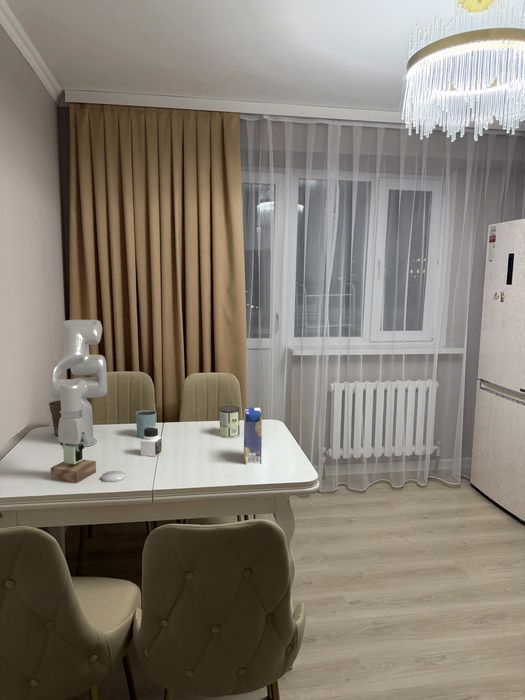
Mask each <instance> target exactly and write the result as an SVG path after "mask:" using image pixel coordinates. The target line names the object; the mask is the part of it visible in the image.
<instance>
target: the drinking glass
mask: <svg viewBox="0 0 525 700" xmlns="http://www.w3.org/2000/svg"><path fill="white" fill-rule="evenodd" d="M135 421H136V422H135V423H136V435H137V438H139V439H143V438H145V437H144V429H145V428H147V427H156V421H157V411H154V410H148V409H147V410H146V409H144V410H139V411H138V410H137V411H136V412H135Z"/></svg>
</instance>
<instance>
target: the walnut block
mask: <svg viewBox="0 0 525 700" xmlns="http://www.w3.org/2000/svg"><path fill="white" fill-rule="evenodd" d="M95 473H97V461H95V460H91V459H90V460H89V459H83V460H82V461H80V462H78V463H76V464H69V463H64V460H63V461H62V462H59V463H57V464H55V465H53V466H51V467H50V480H53V479H55V481H60V482H68V483H73V484H78V483H80V482H81V481H84V480H85V479H87V478H89V477H91V476H92V475H94V474H95Z"/></svg>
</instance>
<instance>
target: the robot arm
mask: <svg viewBox="0 0 525 700" xmlns="http://www.w3.org/2000/svg"><path fill="white" fill-rule="evenodd" d="M60 329H61V332H62V335H63V337H64V339H63V357H62V358H60V359H59V360H58V361H57V362H56V364H55V365H54V367H53V368H52V369H51V372H50V379H49V394H50V395H51V398H54V399H60V400H61V411H60V413H61V418H60V420H59V427H58V436H57V438H56V441H58V443H59V444H60V446H61V448H62V449H63V445H66V444H72V445H75V446H76V450H77V451H76V461H79V460H81V459H82V452H83V450H84V449H85V448H86V447H91V446H93V445H94V446H95V444H97V438H94V429H93V428H94V426H93V425H94V423H93V421H94V420H93V407H92V404H91V402H90V401H89V400H88V399H90V398H93V399H94V398H103V397H105V396H107V393H108V379H107V378H108V375H107V374H108V373H107V372H108V371H107V361H106V358H105V356H104V355H102V354H90V345H98V344H99V343H100V342H101V340H102V334H103V326H102V323H101V321H100V320H98V319H68V320H63V321H62V322H61V324H60ZM68 369H70V371H71V374H72V375H74V376H96V377H76V378H69V379H67V378H65V379H64V378H63V379H59V377H60V375H61V374H62V373H64V372H65V371H66V370H68ZM79 445H80V447H79Z"/></svg>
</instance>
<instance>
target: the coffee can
mask: <svg viewBox="0 0 525 700" xmlns="http://www.w3.org/2000/svg"><path fill="white" fill-rule="evenodd" d="M240 411H241V407H238V406H235V405H224V406H221V407H219V437H221V438H224V439H235V438H238V437H240V436H241V435H240V434H241V433H240V430H241V429H240V428H241V427H240V426H241V425H240V416H241V415H240Z"/></svg>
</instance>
